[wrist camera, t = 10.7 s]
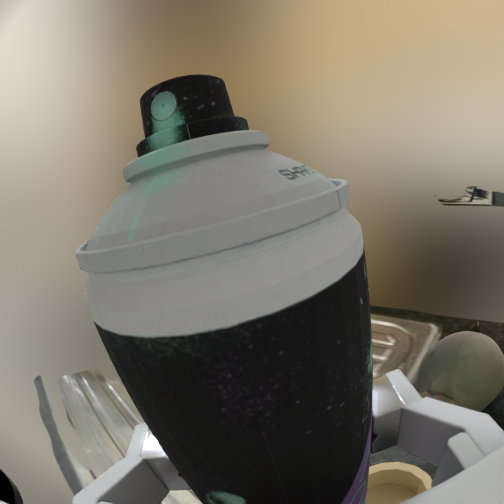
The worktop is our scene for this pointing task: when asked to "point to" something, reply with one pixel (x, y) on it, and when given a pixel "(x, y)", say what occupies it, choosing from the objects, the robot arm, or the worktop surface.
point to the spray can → (236, 306)
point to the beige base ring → (395, 483)
